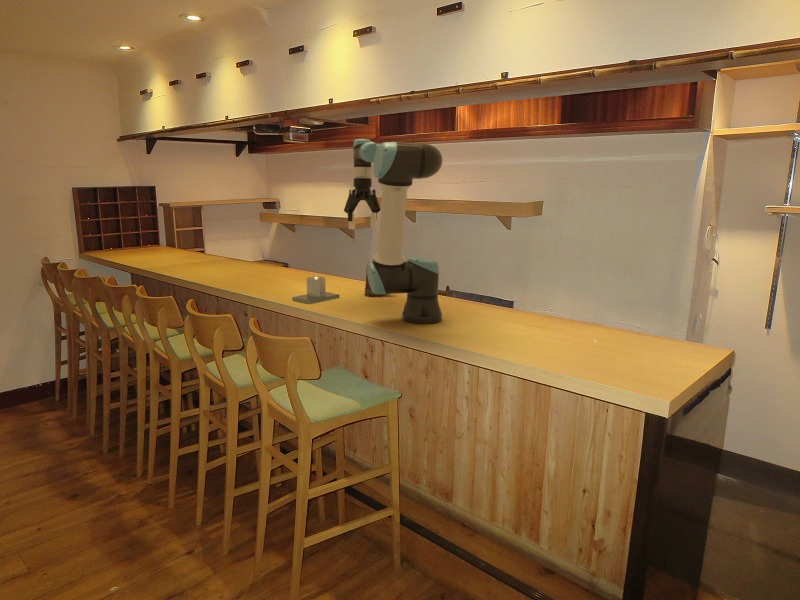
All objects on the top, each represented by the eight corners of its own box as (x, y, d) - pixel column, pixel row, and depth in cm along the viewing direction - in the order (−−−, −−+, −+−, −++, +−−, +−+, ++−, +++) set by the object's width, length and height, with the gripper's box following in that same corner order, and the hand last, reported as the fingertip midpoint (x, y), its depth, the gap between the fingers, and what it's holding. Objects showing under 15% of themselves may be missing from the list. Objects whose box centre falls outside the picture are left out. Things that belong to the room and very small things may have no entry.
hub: (329, 295, 237) (329, 278, 235) (315, 298, 231) (315, 280, 229) (317, 293, 242) (316, 275, 240) (303, 295, 236) (303, 278, 234)
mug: (361, 296, 244) (361, 263, 241) (369, 292, 254) (369, 260, 251) (393, 298, 239) (393, 265, 236) (400, 294, 249) (401, 262, 246)
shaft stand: (339, 297, 240) (339, 275, 238) (309, 304, 226) (308, 280, 224) (322, 294, 247) (322, 273, 245) (292, 300, 233) (291, 277, 231)
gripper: (375, 178, 236) (375, 226, 240) (334, 177, 217) (335, 229, 221) (388, 178, 231) (388, 227, 235) (348, 176, 212) (348, 230, 216)
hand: (362, 228), depth 228 cm, fingers open, 13 cm apart
